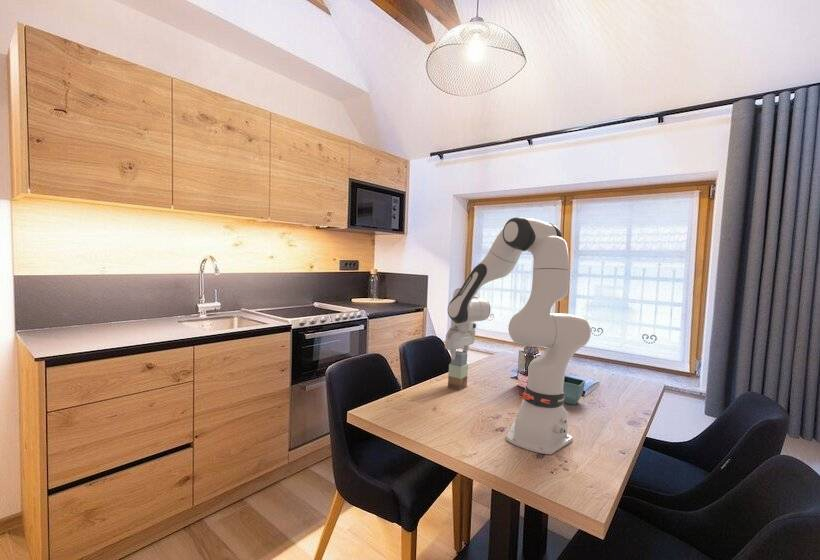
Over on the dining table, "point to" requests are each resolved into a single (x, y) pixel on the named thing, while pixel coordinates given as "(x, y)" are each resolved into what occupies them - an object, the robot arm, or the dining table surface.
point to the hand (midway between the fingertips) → (459, 357)
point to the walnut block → (457, 383)
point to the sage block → (458, 371)
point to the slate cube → (460, 359)
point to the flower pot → (573, 389)
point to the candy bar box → (523, 360)
